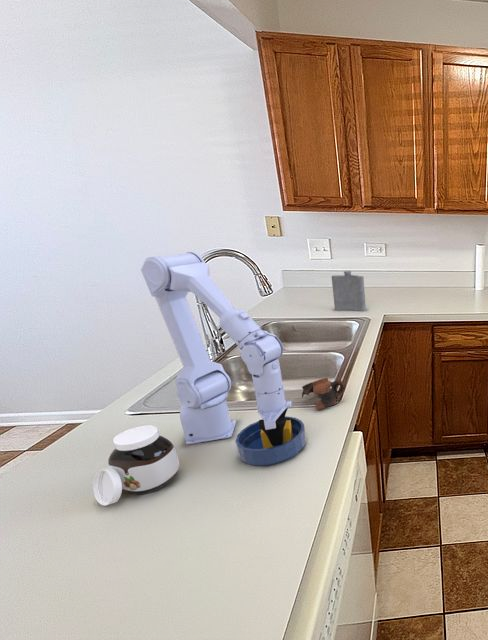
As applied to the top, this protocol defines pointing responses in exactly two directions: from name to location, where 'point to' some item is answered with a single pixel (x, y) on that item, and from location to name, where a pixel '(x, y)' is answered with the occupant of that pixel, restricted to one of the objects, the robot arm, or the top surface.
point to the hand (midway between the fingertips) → (278, 439)
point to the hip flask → (348, 292)
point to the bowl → (256, 455)
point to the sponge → (286, 435)
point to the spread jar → (136, 465)
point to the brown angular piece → (324, 392)
